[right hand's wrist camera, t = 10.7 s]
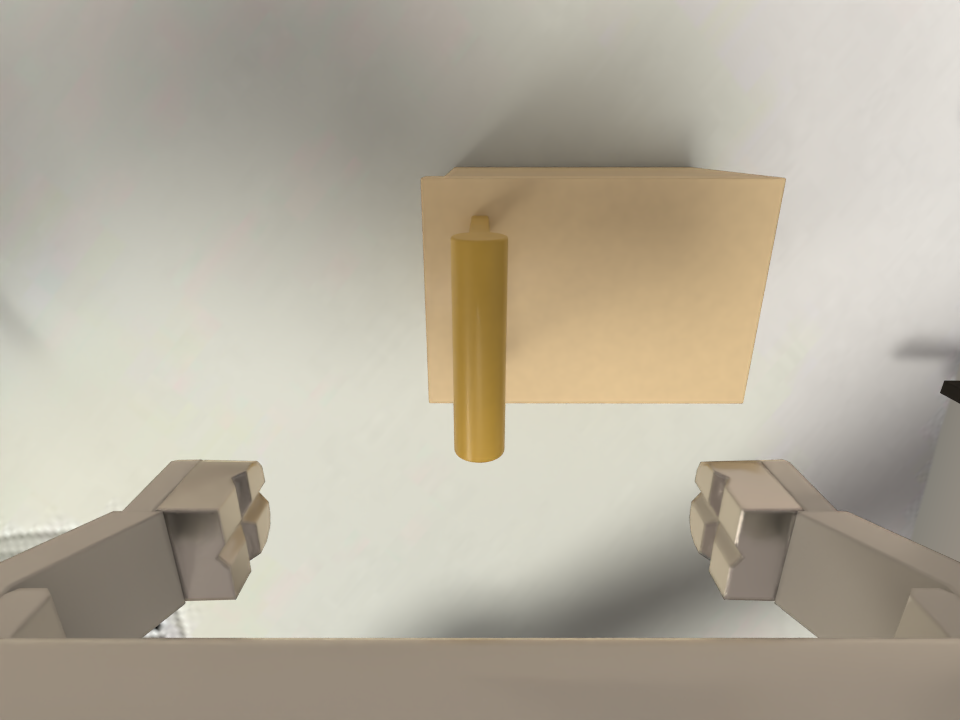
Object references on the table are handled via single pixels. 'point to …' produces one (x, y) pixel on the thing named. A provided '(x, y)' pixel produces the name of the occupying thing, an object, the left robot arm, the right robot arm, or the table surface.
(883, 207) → the table surface
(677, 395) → the lid
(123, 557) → the right robot arm
